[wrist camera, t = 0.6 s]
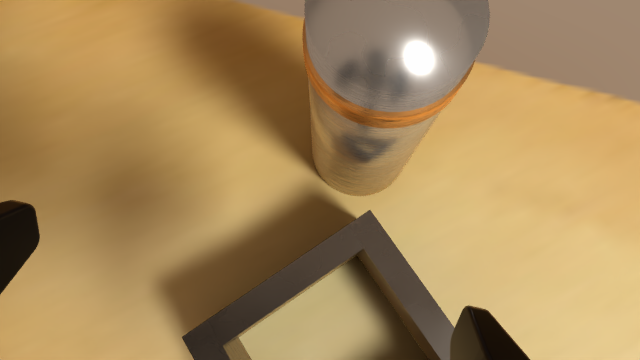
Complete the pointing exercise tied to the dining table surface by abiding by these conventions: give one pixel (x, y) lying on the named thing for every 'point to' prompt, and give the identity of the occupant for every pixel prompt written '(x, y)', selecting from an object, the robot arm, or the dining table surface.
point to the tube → (383, 80)
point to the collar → (353, 240)
